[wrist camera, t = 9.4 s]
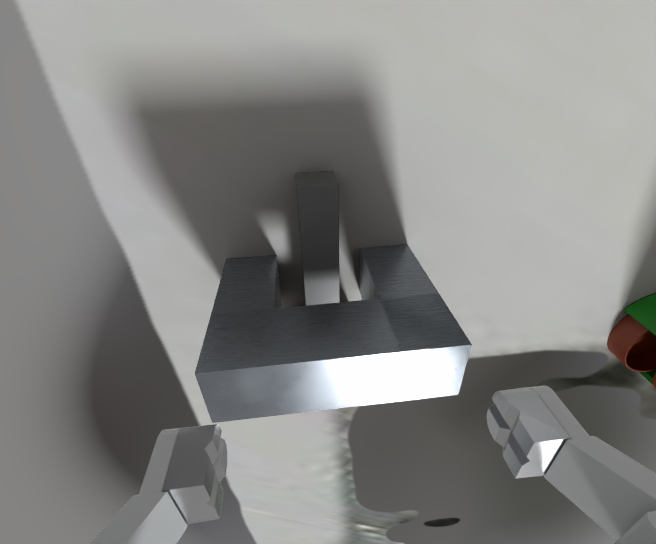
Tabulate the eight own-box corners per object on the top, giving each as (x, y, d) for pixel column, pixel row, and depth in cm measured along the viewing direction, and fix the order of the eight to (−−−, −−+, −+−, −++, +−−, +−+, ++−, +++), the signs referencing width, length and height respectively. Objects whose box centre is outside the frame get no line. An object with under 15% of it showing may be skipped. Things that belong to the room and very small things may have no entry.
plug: (276, 173, 23) (275, 201, 19) (350, 169, 23) (365, 195, 19) (295, 350, 32) (297, 395, 28) (348, 345, 32) (358, 388, 28)
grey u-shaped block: (226, 259, 26) (194, 373, 17) (407, 244, 27) (471, 344, 18) (235, 301, 28) (212, 422, 19) (402, 286, 29) (458, 394, 20)
